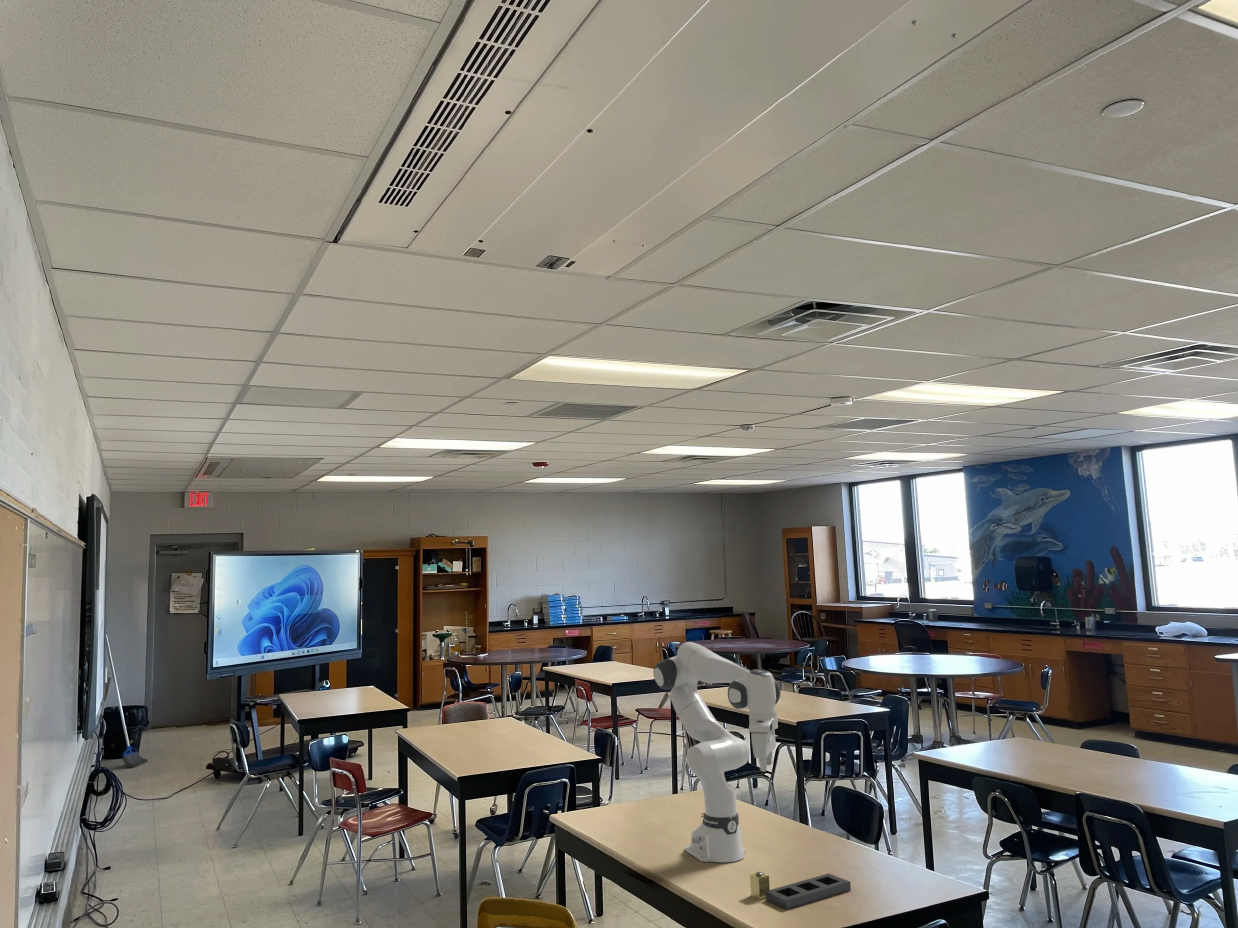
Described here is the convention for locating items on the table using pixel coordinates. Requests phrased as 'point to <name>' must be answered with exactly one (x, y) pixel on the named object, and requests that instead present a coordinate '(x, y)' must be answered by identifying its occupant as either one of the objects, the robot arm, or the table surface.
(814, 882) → the grey flat slotted block
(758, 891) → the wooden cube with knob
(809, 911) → the table surface
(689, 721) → the robot arm
